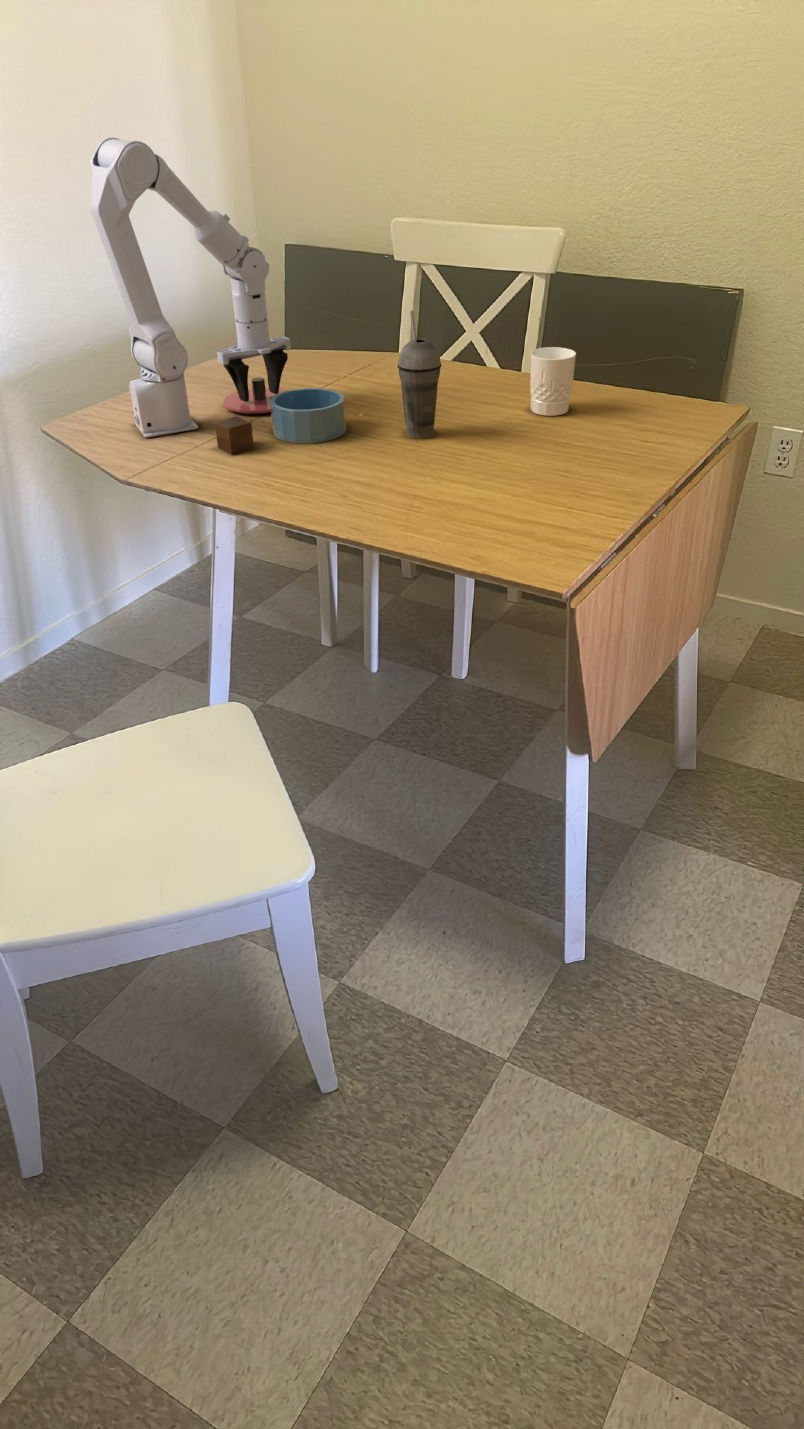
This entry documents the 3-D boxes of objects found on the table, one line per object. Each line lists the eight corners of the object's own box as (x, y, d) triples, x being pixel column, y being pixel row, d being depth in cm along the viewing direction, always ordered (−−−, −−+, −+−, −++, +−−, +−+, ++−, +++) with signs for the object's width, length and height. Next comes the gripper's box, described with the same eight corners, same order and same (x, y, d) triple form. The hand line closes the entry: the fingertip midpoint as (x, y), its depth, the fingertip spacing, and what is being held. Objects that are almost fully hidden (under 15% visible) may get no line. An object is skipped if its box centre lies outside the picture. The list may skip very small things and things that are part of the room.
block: (231, 454, 161) (228, 428, 158) (217, 448, 163) (214, 422, 161) (254, 448, 163) (251, 422, 160) (240, 441, 166) (236, 416, 163)
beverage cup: (437, 442, 163) (437, 317, 151) (395, 440, 164) (391, 316, 153) (444, 428, 169) (445, 306, 157) (403, 426, 170) (401, 305, 159)
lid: (249, 421, 174) (246, 395, 171) (210, 404, 182) (206, 379, 180) (311, 404, 181) (309, 379, 178) (270, 389, 190) (267, 364, 187)
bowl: (301, 449, 162) (298, 416, 159) (259, 430, 170) (256, 399, 167) (360, 431, 169) (359, 399, 165) (317, 414, 177) (315, 383, 173)
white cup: (570, 403, 178) (575, 347, 172) (572, 417, 172) (577, 359, 166) (527, 403, 179) (530, 346, 173) (527, 417, 172) (530, 359, 167)
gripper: (228, 331, 167) (237, 410, 174) (297, 316, 174) (303, 392, 182) (207, 323, 171) (217, 401, 179) (275, 309, 179) (282, 384, 186)
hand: (259, 396), depth 181 cm, fingers open, 6 cm apart
